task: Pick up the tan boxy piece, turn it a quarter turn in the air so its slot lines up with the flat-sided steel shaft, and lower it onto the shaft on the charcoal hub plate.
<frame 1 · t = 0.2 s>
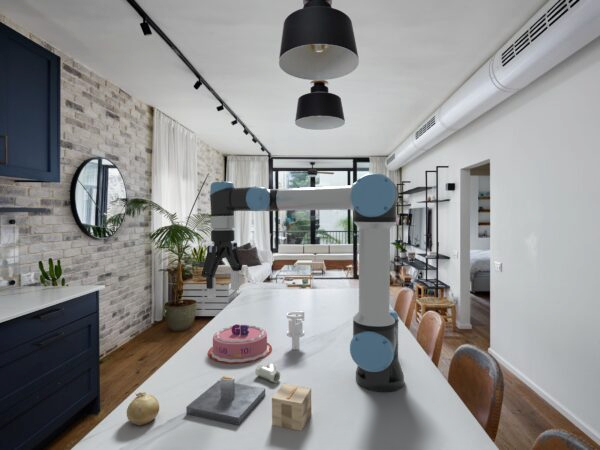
hand: (223, 293, 117), 28 cm above the table, fingers open, 13 cm apart
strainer: (295, 348, 142), on the table
pipe fitting: (271, 378, 117), on the table
decorative tree: (370, 340, 151), on the table
onion: (143, 421, 94), on the table
cake: (240, 351, 140), on the table
hub: (227, 404, 101), on the table
tan boxy piece: (292, 419, 93), on the table
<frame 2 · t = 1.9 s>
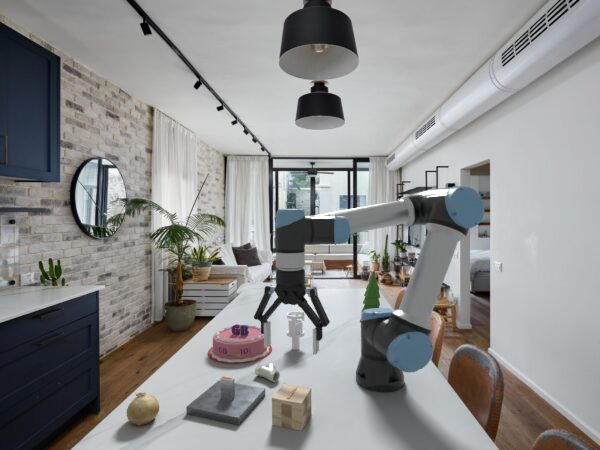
hand: (291, 349, 93), 19 cm above the table, fingers open, 13 cm apart
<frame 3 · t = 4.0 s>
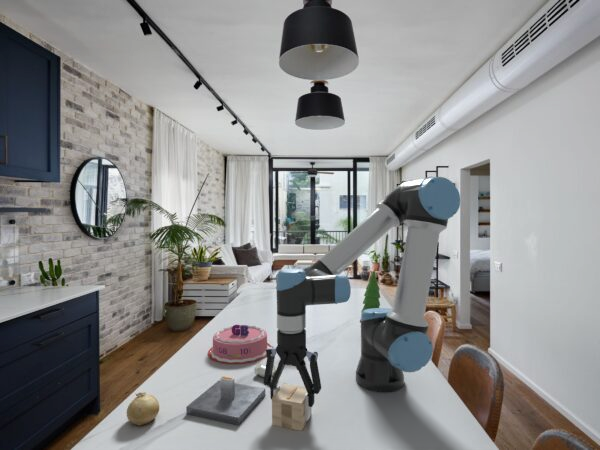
hand: (292, 414, 93), 1 cm above the table, fingers closed on tan boxy piece, 8 cm apart
tan boxy piece: (292, 419, 93), on the table, touching gripper
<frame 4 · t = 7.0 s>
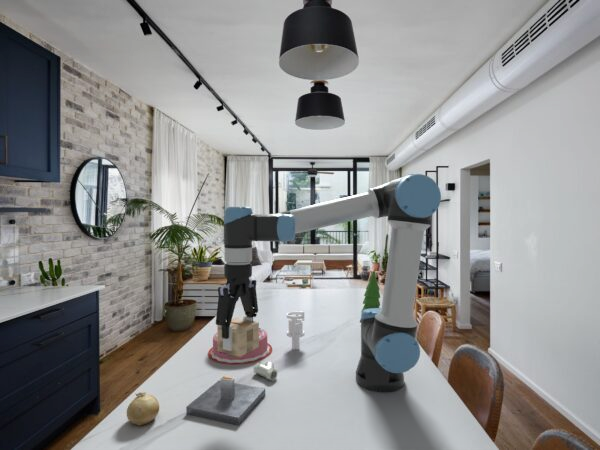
hand: (238, 344, 99), 18 cm above the table, fingers closed on tan boxy piece, 8 cm apart
tan boxy piece: (238, 348, 99), point 17 cm above the table, touching gripper
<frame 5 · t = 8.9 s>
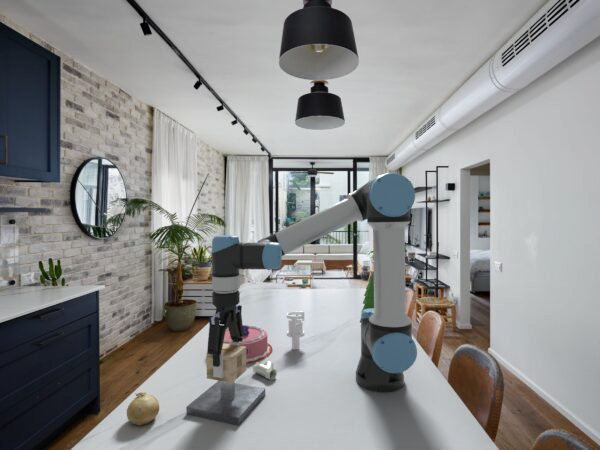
hand: (226, 370, 101), 10 cm above the table, fingers closed on tan boxy piece, 8 cm apart
tan boxy piece: (227, 374, 101), point 9 cm above the table, touching gripper
when the fingers open (6 cm above the table, at t = 10.1 s): tan boxy piece drops 2 cm, resting on hub.
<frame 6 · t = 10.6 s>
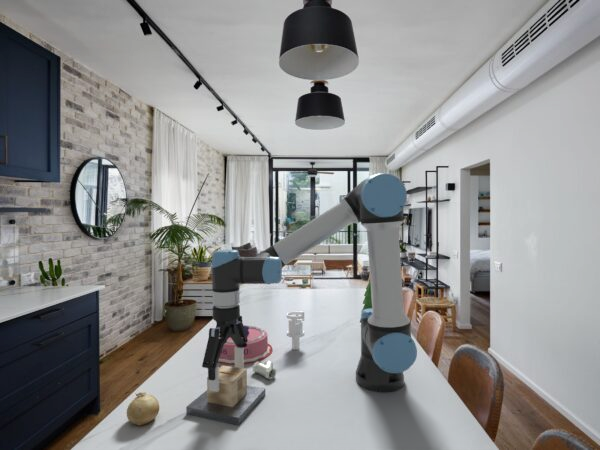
hand: (227, 379, 101), 7 cm above the table, fingers open, 13 cm apart
tan boxy piece: (227, 397, 101), point 2 cm above the table, touching hub
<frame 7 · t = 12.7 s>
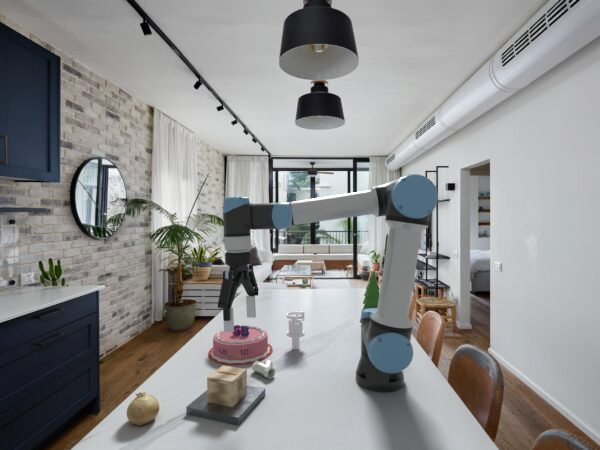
hand: (240, 324, 103), 22 cm above the table, fingers open, 13 cm apart
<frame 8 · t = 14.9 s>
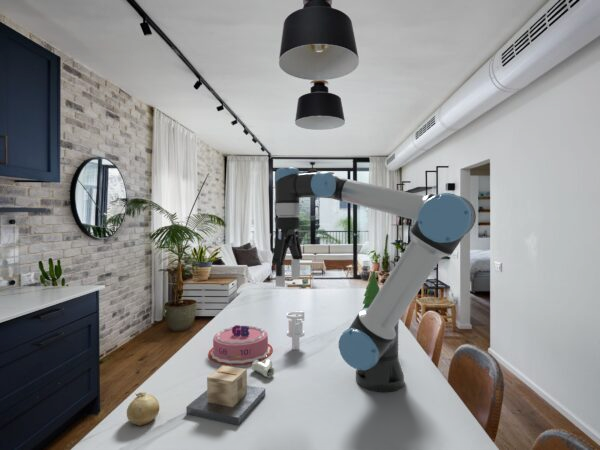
hand: (288, 282, 115), 32 cm above the table, fingers open, 13 cm apart
at the end: tan boxy piece 0.1 cm off-centre on the hub, point 2.0 cm above the hub's base; tan boxy piece tilted 0°; the gripper is holding nothing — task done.
